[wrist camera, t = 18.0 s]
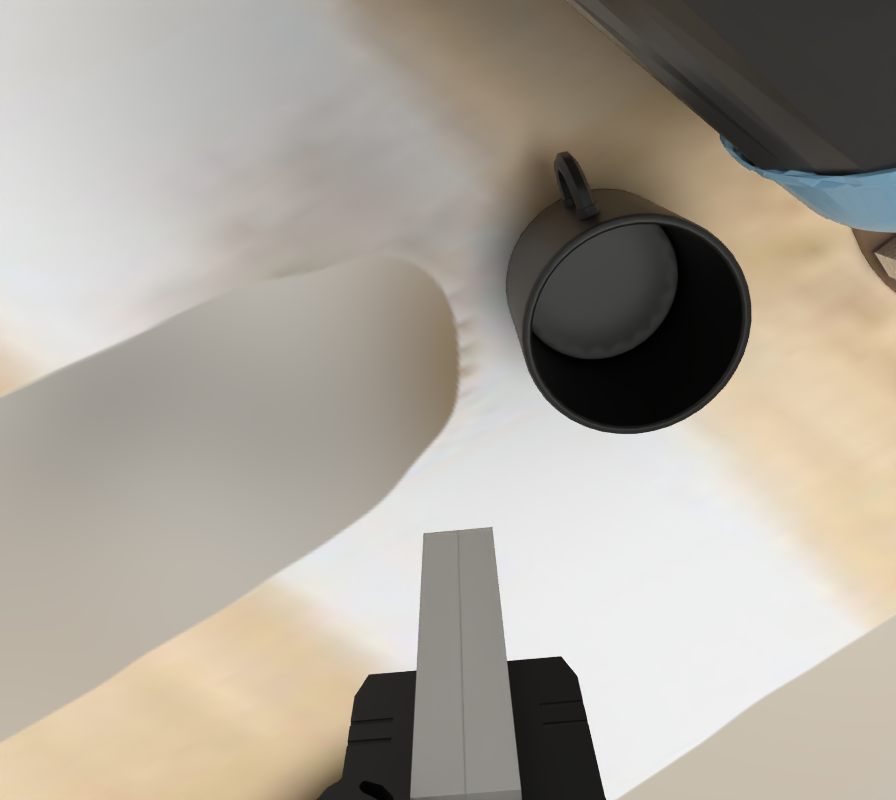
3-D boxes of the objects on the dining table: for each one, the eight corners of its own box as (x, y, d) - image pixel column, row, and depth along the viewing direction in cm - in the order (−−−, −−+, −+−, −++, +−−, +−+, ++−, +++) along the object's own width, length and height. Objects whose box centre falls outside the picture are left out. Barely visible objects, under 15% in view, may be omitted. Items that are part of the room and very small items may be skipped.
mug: (640, 105, 35) (700, 106, 27) (707, 327, 40) (777, 387, 31) (458, 184, 37) (462, 209, 28) (542, 391, 41) (567, 466, 32)
